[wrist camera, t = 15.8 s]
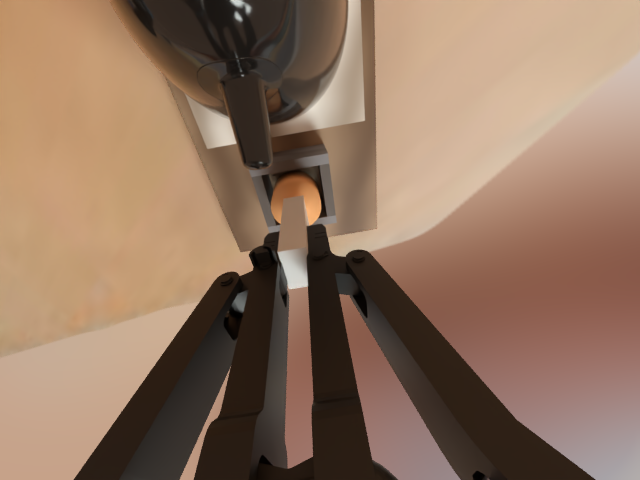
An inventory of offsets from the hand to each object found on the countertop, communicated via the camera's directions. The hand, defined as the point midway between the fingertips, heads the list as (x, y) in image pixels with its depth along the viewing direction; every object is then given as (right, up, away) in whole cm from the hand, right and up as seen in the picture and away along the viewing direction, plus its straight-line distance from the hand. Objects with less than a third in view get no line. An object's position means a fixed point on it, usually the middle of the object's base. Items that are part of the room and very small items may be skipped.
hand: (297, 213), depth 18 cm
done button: (0, +2, +3) cm, 4 cm away
